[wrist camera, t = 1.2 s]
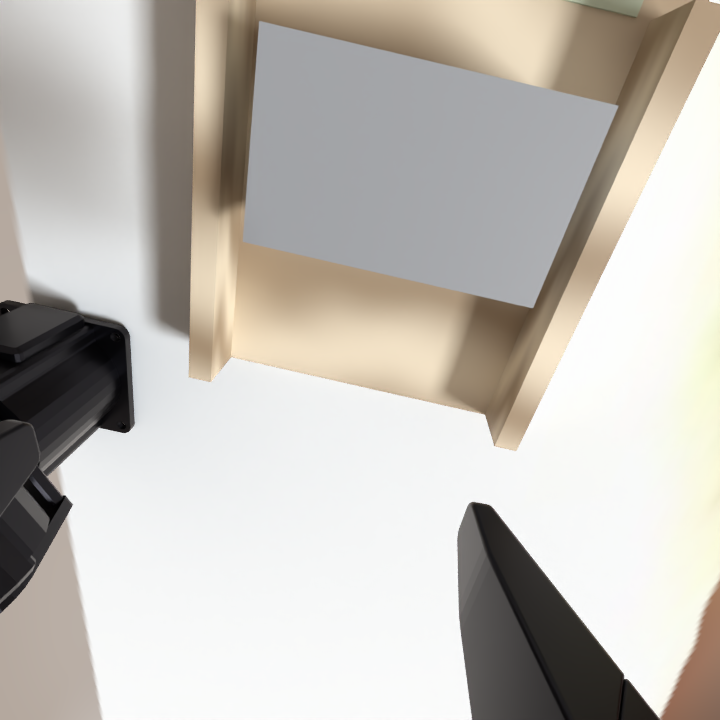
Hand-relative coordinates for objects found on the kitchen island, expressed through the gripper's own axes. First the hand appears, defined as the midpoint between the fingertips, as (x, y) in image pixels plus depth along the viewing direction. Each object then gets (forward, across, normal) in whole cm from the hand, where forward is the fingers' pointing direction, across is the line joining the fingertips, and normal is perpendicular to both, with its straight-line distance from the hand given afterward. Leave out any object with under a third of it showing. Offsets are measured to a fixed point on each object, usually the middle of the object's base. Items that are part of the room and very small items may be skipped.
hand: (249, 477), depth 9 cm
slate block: (+12, -2, -6) cm, 14 cm away
